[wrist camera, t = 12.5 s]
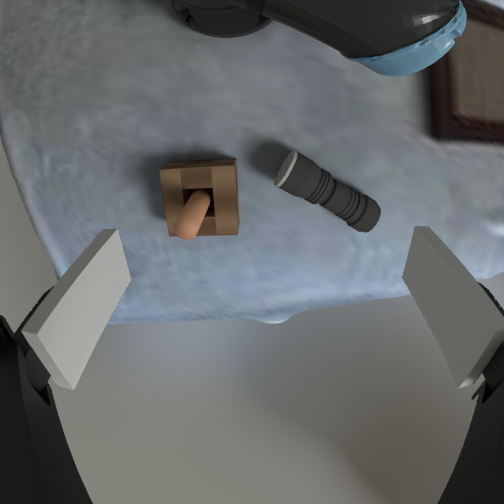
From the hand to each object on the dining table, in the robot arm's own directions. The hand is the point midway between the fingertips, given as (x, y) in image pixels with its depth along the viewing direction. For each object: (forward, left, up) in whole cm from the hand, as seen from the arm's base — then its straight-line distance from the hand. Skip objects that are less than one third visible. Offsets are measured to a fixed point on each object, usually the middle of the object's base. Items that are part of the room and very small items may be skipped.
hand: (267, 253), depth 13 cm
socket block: (+8, -9, -31) cm, 33 cm away
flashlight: (+7, +9, -31) cm, 33 cm away
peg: (+8, -9, -31) cm, 33 cm away
